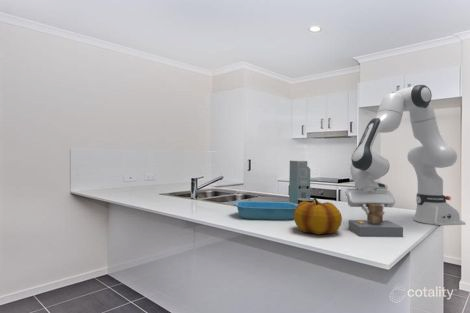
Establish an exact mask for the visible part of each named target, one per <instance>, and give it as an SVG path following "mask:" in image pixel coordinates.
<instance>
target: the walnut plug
mask: <svg viewBox="0 0 470 313" xmlns="http://www.w3.org/2000/svg"><path fill="white" fill-rule="evenodd" d="M366 208H367V209H370V211H371V214H370V215H367V214H366V215H367V216H366V217H367V218H366V220H368V221H369V224H371V225H380V223H383V221H384V220H383V218H384V217H383V215H384V214H383V210H384V209H383V206H382V205H379V204H367V207H366Z"/></svg>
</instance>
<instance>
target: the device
mask: <svg viewBox="0 0 470 313" xmlns="http://www.w3.org/2000/svg"><path fill="white" fill-rule="evenodd" d="M288 180H289V183H288V184H289V186H288V189H289V191H288V196H289V197H288V198H289V199H288V202H289V203H294V204H298V199H299V198H308V199H311V167H310V166H308V160H289V179H288Z"/></svg>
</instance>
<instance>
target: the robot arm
mask: <svg viewBox="0 0 470 313" xmlns="http://www.w3.org/2000/svg"><path fill="white" fill-rule="evenodd" d="M431 100H432V90H431V89H430V88H429V87H428V86H427V85H425V84H416V85H414V86H408V87H404V88H402V89H399V90H397V91H393V92H390V93H387V94H385V95H384V96H383V98H382V99H381V101H380V104H379V106H378V110H377V111H376V112H377V113H376V115H375V117H374V118H372V119H371V120H369V122H368V124H367V126H366V127H365V129H364V131H363V133H362V136H361V138H360V140H359V143H358V145H357V147H356V149H355V150H354V151H353V153H352V155H351V163H350V168H349V169H350V175H351V178H352V181H353V182H354V188H347V189H345V190H344V193H345V196H346V200H347V205H348V206H349V207H350V208H353V207H354V208H361V209H362V210H363V211H364V212H365V214H366V215H370V214H371V211H370V209H367V204H379V205H382V206H383V215H384V214H385V211H384V208H392V207H393V206H394V205H395V203H396V200H395V197H394V195H393V193H392V192H391V191H390V190H389V189H388V185H387V184H385V183H381V182H378V181H376V180H378V179H380V178H382V177H384V176H386V175H387V173H388V172H389V169H390V161H389V160H388V159H386V158H385V157H383V156H382V155H379V154H378V153H376V152H374V151H373V149H372V147H373V146H374V142H375V140H376V138H377V136H378V134H379V133H380V134H381V133H383V134H384V133H391V132H394V131H396V130H397V129H398V128H399V127H400V125H401V123H402V119H403V114H404V112H408V113H409V119H410V120H409V121H410V124H411V129H412V130H411V131H412V134H413V137H414V139H415V140H417V141H419V142H420V144H421V146H416V147H412V148H411V149H410V150H408V152H407V155H406V156H407V160H408V162H409V163H410V164H411V166H412V168H413V169H414V172H415V174H416V175H415V176H416V179H417V192H416V200H415V201H416V207H415V208H416V209H415V214H414V217H413V221H415V222H419V223H423V224H427V225H436V226H442V227H443V226H463V225H465V226H466V221H463V220H461V216H460V212H459V211H458V210H457V209H455V207H453V206H451V205H450V204H449V203H448V202H447V201H451V200H452V197H451V196H448V195H444V180H443V178H442V177H441V175H439V174H438V172H437V170H436V169H437V168H438V169H443V168H444V169H445V168H448V167H449V168H450V167H453V165H454V164H456V162H457V159H458V154H457V151H456V150H455V149H454V148H453V147H451V146H449V144H448V143H447V142H446V141H445V140H444V138H443V137H442V135H441V132H440V130H439V126H438V122H437V118H436V114H435V110H434V108H433V105H432V102H431Z"/></svg>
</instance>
